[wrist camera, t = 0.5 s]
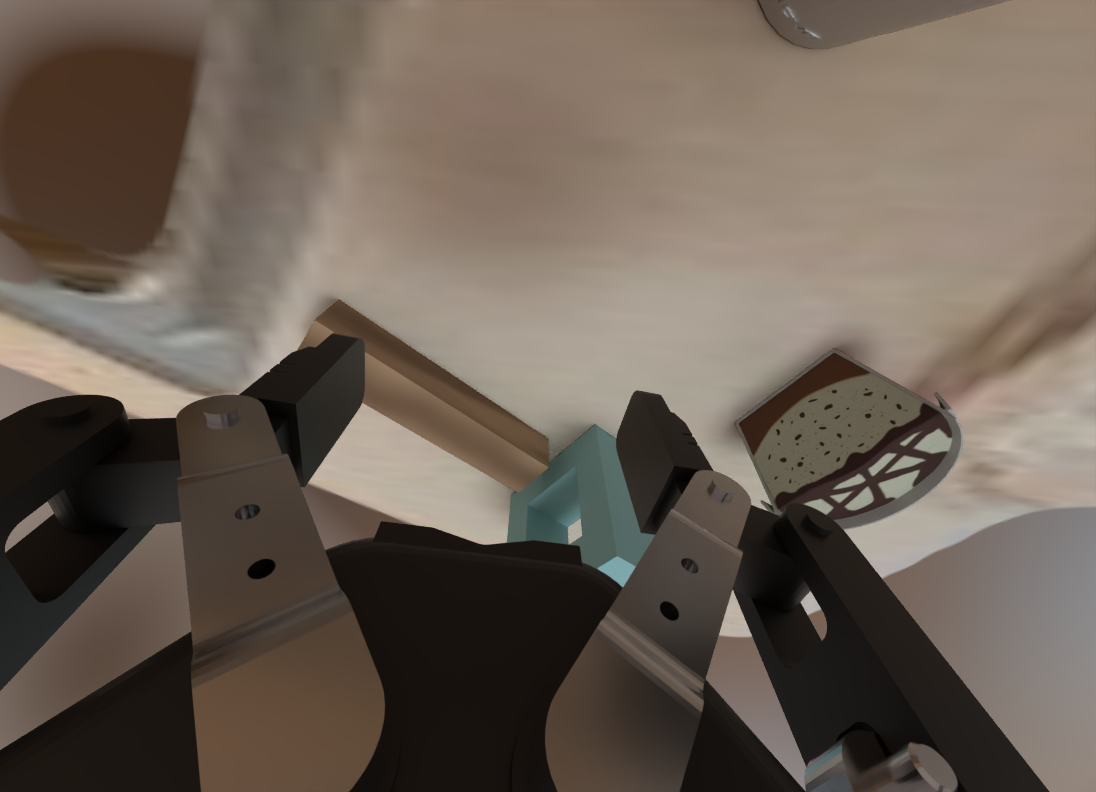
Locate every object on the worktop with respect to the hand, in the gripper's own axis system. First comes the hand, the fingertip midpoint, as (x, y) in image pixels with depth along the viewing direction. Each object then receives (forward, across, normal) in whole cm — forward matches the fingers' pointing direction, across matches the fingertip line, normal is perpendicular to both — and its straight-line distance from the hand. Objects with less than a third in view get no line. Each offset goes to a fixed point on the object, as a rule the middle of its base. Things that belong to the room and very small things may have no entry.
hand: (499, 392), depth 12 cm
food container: (+18, -26, +6) cm, 32 cm away
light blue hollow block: (+19, -9, +19) cm, 28 cm away
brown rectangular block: (+19, +4, +12) cm, 23 cm away
